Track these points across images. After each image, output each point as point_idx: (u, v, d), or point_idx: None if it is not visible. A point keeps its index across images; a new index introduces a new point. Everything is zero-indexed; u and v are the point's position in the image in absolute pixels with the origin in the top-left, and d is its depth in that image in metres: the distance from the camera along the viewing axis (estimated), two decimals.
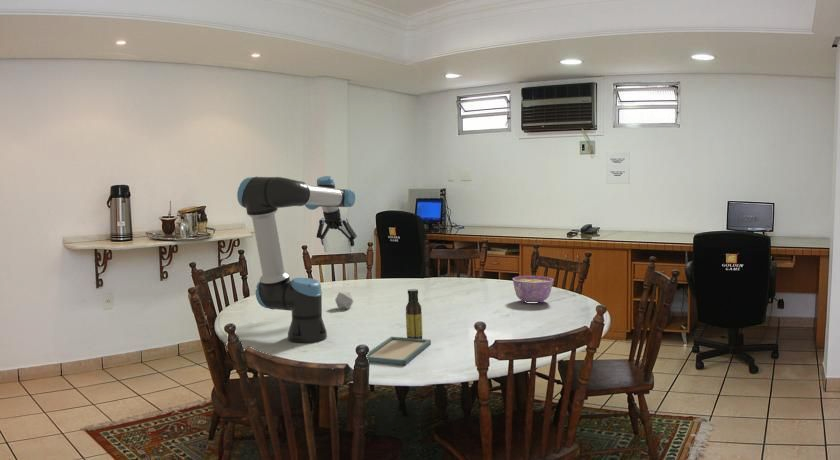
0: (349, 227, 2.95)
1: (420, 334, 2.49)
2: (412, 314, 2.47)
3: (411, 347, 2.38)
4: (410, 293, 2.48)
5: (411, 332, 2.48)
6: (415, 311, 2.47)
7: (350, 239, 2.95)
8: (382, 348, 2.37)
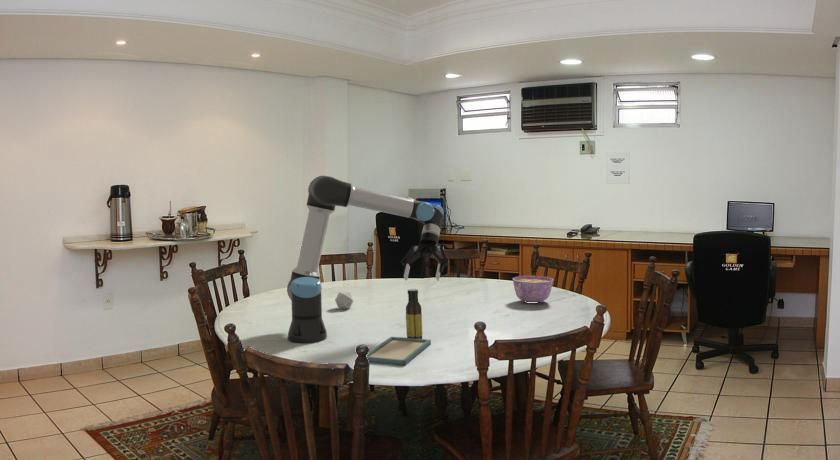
0: (444, 253, 2.67)
1: (420, 334, 2.49)
2: (412, 314, 2.47)
3: (411, 347, 2.38)
4: (410, 293, 2.48)
5: (411, 332, 2.48)
6: (415, 311, 2.47)
7: (442, 261, 2.62)
8: (382, 348, 2.37)
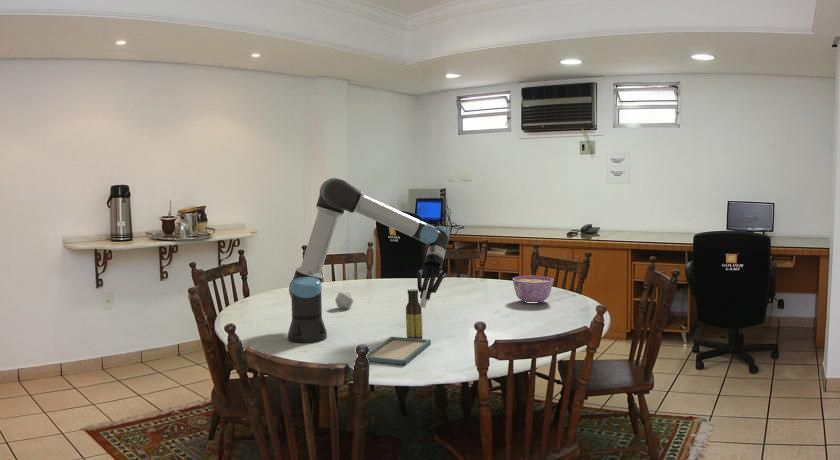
0: (440, 280, 2.65)
1: (420, 334, 2.49)
2: (412, 314, 2.47)
3: (411, 347, 2.38)
4: (410, 293, 2.48)
5: (411, 332, 2.48)
6: (415, 311, 2.47)
7: (429, 289, 2.61)
8: (382, 348, 2.37)
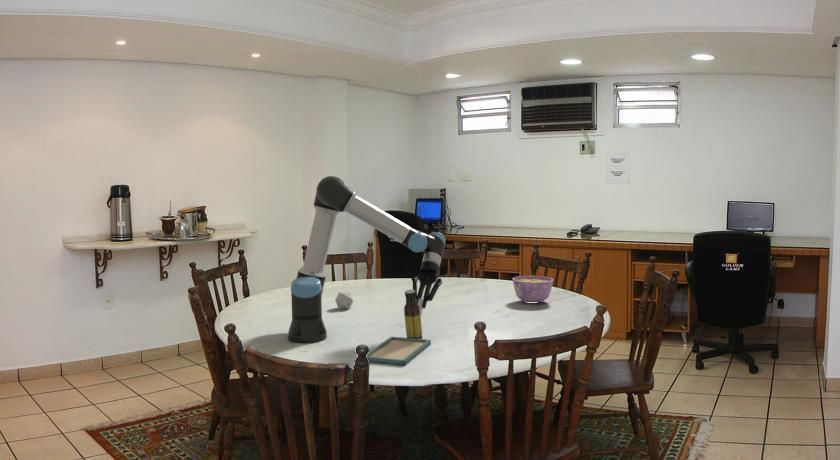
0: (436, 288, 2.58)
1: (420, 334, 2.48)
2: (410, 316, 2.45)
3: (411, 347, 2.38)
4: (407, 295, 2.44)
5: (410, 333, 2.47)
6: (414, 313, 2.45)
7: (425, 297, 2.54)
8: (382, 348, 2.37)
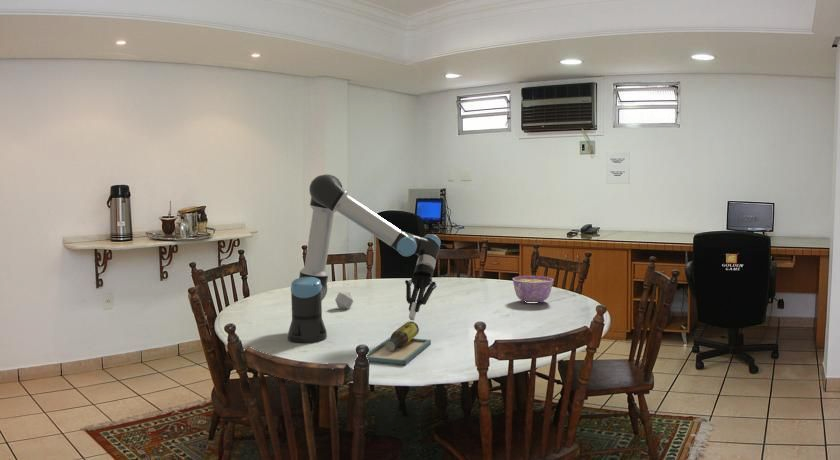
0: (430, 291, 2.53)
1: (416, 333, 2.46)
2: None
3: (411, 347, 2.38)
4: None
5: None
6: (404, 344, 2.38)
7: (419, 300, 2.49)
8: (382, 348, 2.37)
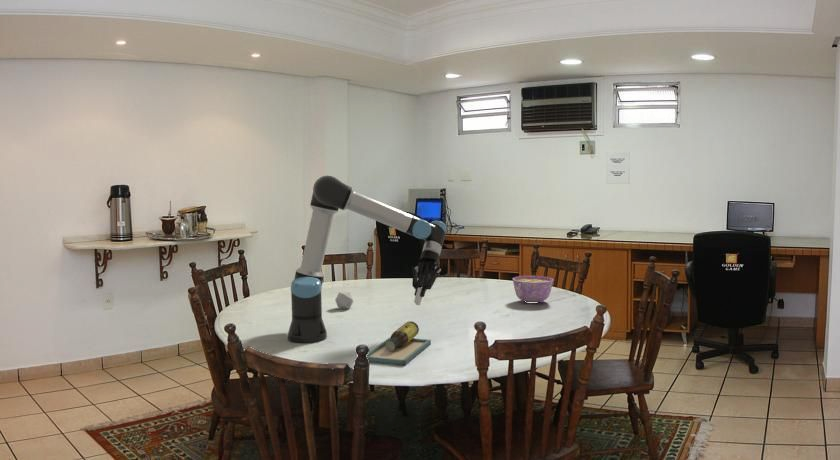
0: (435, 276, 2.61)
1: (416, 333, 2.46)
2: None
3: (411, 347, 2.38)
4: None
5: None
6: (404, 344, 2.38)
7: (423, 286, 2.58)
8: (382, 348, 2.37)
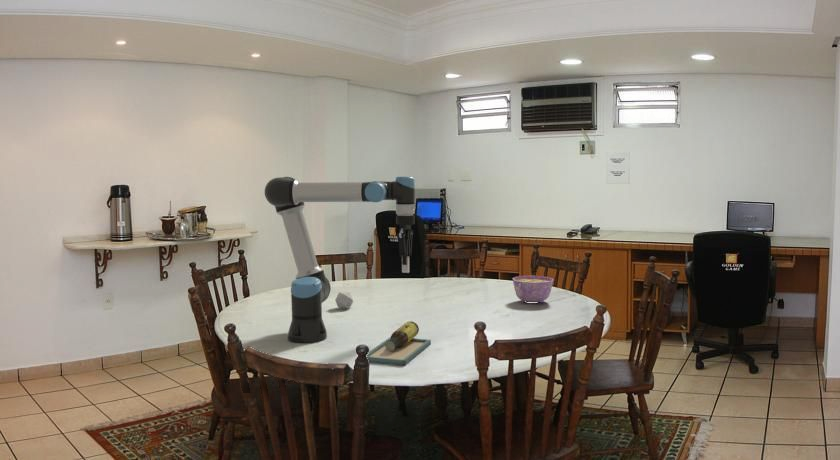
0: (401, 243, 2.58)
1: (416, 333, 2.46)
2: None
3: (411, 347, 2.38)
4: None
5: None
6: (404, 344, 2.38)
7: (399, 255, 2.62)
8: (382, 348, 2.37)
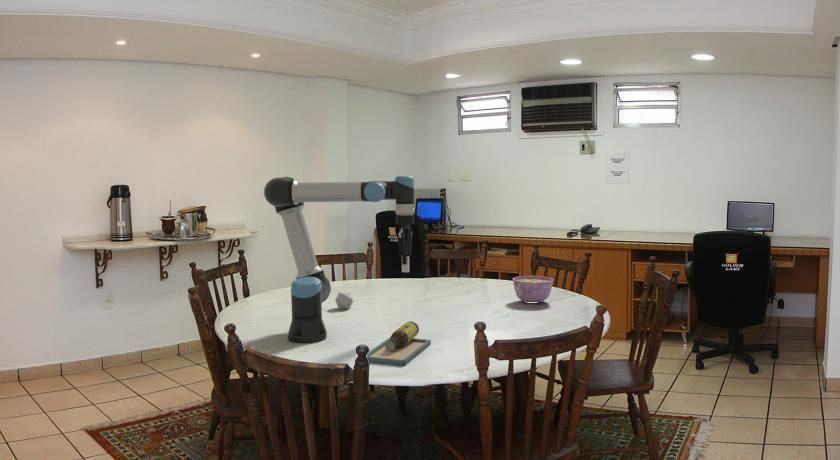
0: (401, 242, 2.58)
1: (416, 333, 2.46)
2: None
3: (411, 347, 2.38)
4: None
5: None
6: (404, 344, 2.38)
7: (399, 255, 2.62)
8: (382, 348, 2.37)
